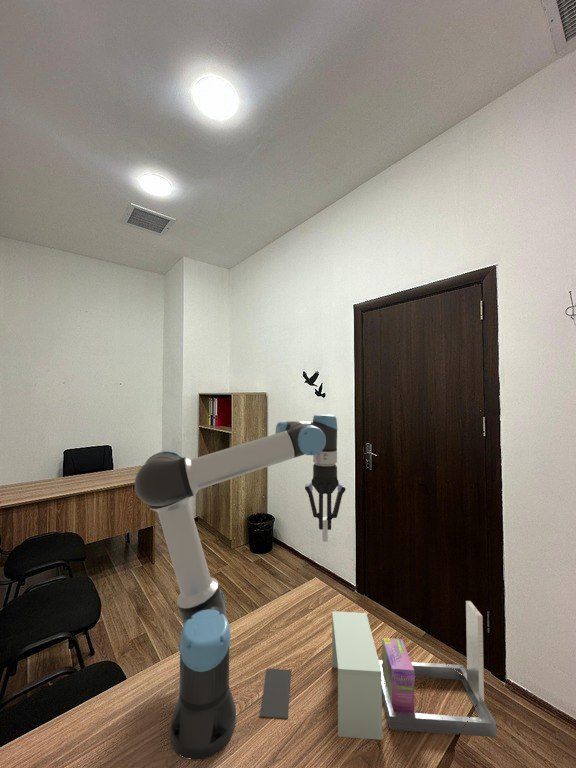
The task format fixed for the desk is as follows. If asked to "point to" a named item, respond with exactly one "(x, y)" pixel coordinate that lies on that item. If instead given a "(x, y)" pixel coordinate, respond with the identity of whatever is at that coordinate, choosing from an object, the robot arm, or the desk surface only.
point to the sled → (470, 680)
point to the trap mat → (276, 694)
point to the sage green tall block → (357, 676)
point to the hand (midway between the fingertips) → (324, 539)
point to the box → (398, 674)
